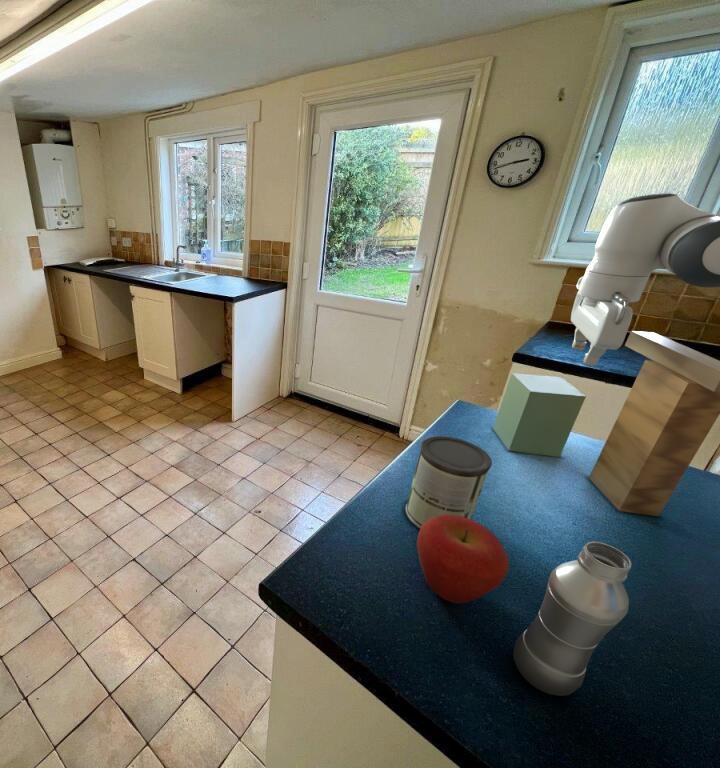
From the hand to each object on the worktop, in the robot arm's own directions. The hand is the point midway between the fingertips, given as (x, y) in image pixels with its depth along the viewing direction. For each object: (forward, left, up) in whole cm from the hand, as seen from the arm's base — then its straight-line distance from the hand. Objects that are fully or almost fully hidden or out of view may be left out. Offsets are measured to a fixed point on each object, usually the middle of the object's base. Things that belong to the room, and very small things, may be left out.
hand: (582, 356), depth 84 cm
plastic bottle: (+23, +55, -23) cm, 64 cm away
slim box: (-7, +12, +3) cm, 14 cm away
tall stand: (-7, +14, -23) cm, 28 cm away
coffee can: (+29, +29, -23) cm, 47 cm away
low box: (+3, -3, -23) cm, 23 cm away
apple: (+31, +45, -23) cm, 59 cm away
